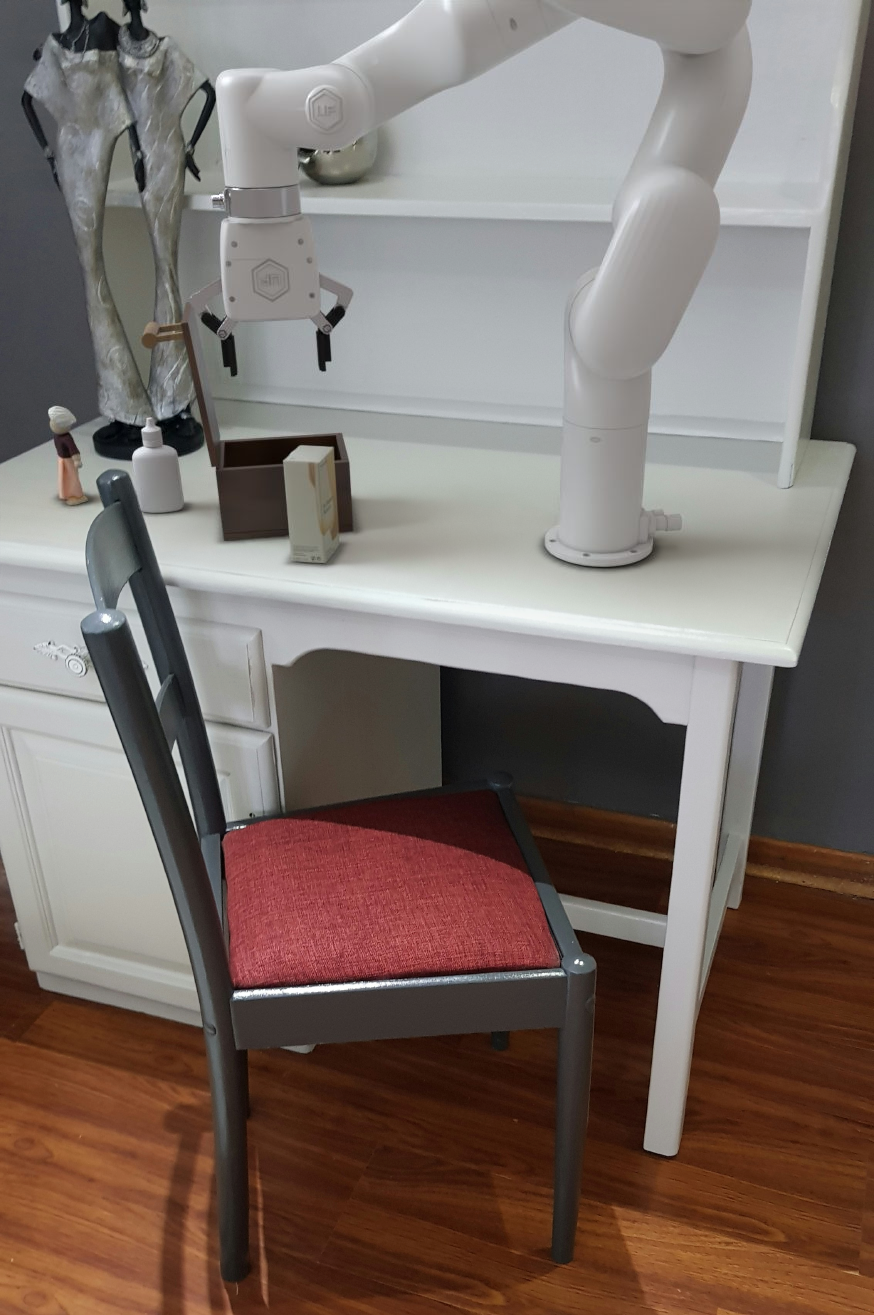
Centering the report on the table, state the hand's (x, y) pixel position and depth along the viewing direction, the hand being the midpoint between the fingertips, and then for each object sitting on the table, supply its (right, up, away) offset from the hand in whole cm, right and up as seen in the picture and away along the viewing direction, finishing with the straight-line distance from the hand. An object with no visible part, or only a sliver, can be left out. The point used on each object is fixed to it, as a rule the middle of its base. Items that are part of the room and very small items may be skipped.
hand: (278, 371), depth 122 cm
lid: (-10, +1, +9) cm, 14 cm away
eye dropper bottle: (-18, -12, +23) cm, 32 cm away
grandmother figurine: (-31, -11, +26) cm, 42 cm away
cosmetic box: (+3, -19, +9) cm, 22 cm away
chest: (-2, -14, +19) cm, 23 cm away
